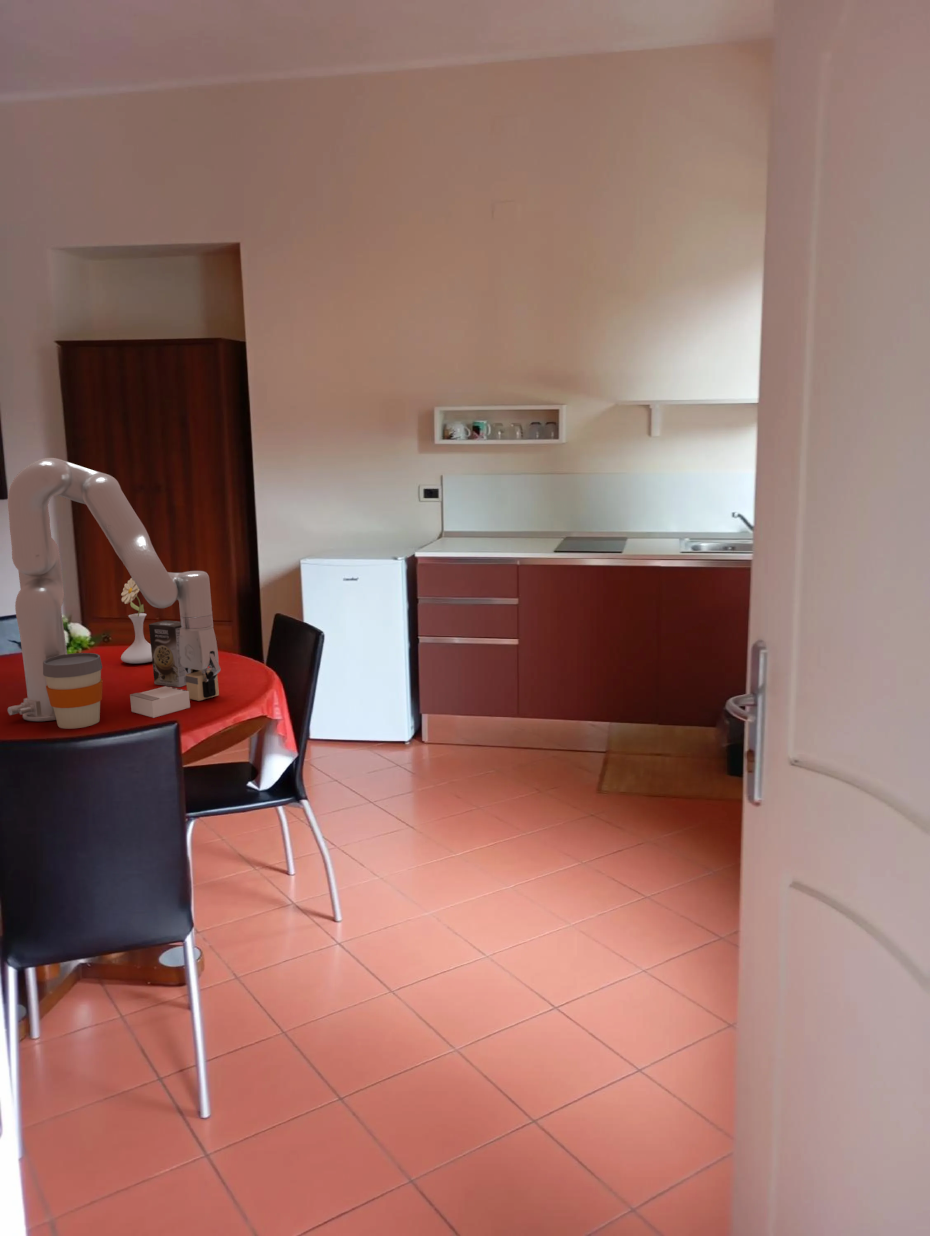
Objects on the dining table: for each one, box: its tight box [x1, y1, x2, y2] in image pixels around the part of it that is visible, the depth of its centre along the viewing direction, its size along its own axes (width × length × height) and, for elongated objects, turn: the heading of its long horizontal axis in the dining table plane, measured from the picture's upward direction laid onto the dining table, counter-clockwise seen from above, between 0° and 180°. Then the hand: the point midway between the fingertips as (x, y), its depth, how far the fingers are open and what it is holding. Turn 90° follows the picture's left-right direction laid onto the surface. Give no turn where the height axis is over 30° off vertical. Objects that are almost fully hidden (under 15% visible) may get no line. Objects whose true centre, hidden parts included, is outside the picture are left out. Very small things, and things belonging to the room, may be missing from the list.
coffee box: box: [148, 620, 188, 688], centre depth 258 cm, size 9×6×16 cm
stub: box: [185, 670, 220, 702], centre depth 243 cm, size 6×4×6 cm
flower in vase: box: [120, 577, 152, 665], centre depth 282 cm, size 13×11×25 cm
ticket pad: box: [129, 685, 191, 719], centre depth 234 cm, size 10×9×4 cm
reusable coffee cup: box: [43, 652, 103, 730], centre depth 225 cm, size 13×13×15 cm
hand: (203, 694), depth 244 cm, fingers closed on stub, 4 cm apart
